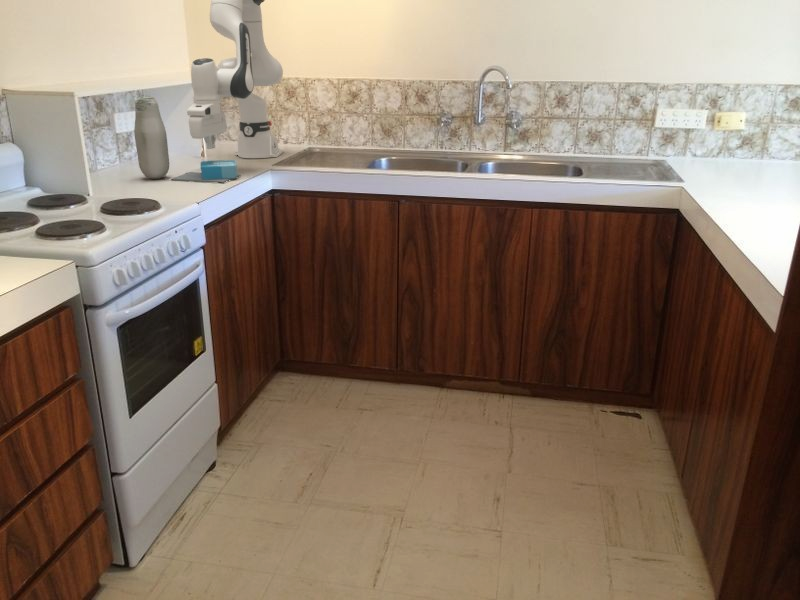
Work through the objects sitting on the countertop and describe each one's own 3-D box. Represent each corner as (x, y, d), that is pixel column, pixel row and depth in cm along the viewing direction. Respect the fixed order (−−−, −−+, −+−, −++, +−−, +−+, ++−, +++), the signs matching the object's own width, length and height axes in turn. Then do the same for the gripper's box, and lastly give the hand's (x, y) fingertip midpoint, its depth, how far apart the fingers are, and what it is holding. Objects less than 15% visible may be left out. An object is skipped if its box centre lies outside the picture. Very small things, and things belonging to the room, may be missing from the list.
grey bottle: (144, 175, 241) (133, 94, 231) (174, 175, 242) (164, 94, 232) (137, 181, 232) (125, 97, 222) (167, 181, 233) (157, 96, 223)
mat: (190, 173, 246) (189, 172, 246) (240, 176, 242) (240, 174, 241) (170, 180, 234) (170, 178, 234) (223, 183, 230) (223, 181, 230)
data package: (234, 159, 244) (236, 165, 233) (235, 172, 246) (237, 178, 235) (200, 161, 241) (200, 167, 230) (201, 173, 243) (202, 180, 232)
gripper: (213, 105, 244) (217, 143, 249) (184, 110, 226) (188, 152, 231) (229, 105, 243) (232, 144, 248) (201, 111, 224) (205, 153, 229)
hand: (211, 148), depth 239 cm, fingers closed
